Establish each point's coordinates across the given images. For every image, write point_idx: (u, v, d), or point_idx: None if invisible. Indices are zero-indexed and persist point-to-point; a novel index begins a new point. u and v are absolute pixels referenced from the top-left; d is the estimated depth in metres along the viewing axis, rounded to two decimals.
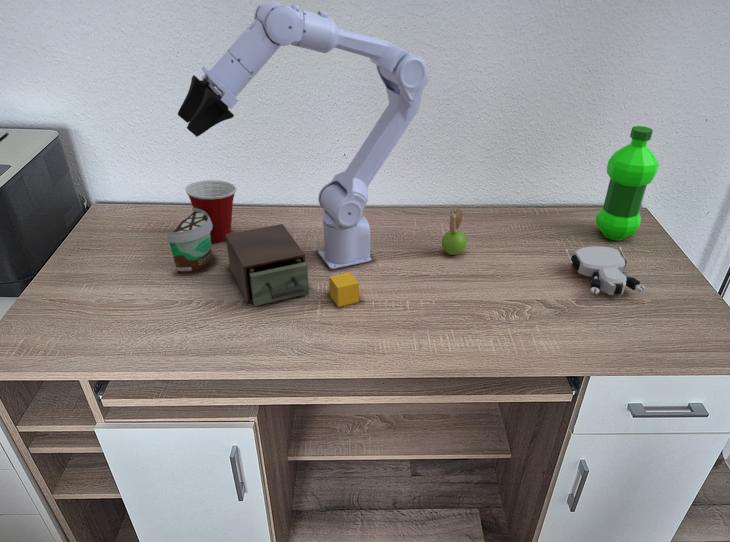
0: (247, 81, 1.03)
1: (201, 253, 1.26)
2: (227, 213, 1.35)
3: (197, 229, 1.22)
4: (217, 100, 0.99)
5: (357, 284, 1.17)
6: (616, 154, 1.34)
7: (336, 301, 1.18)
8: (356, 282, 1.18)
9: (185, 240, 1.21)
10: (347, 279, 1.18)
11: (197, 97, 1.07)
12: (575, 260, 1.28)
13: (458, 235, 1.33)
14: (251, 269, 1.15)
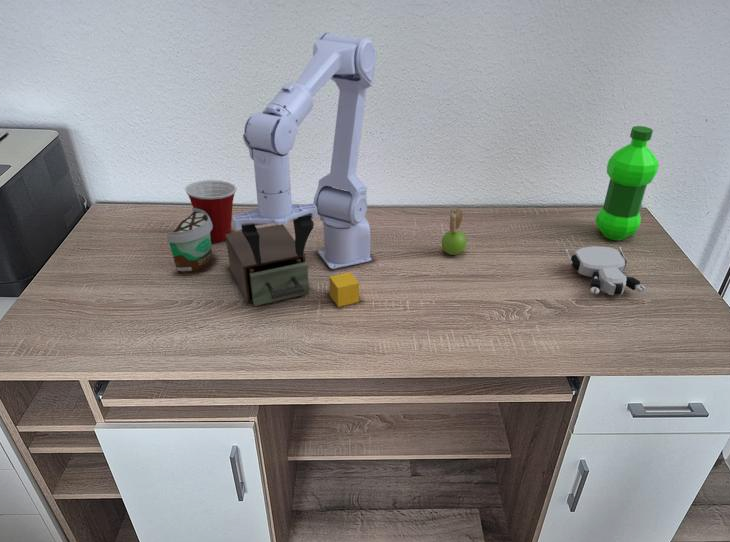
0: None
1: (201, 253, 1.26)
2: (227, 213, 1.35)
3: (197, 229, 1.22)
4: (312, 221, 1.09)
5: (357, 284, 1.17)
6: (616, 154, 1.34)
7: (336, 301, 1.18)
8: (356, 282, 1.18)
9: (185, 240, 1.21)
10: (347, 279, 1.18)
11: None
12: (575, 260, 1.28)
13: (458, 235, 1.33)
14: (251, 269, 1.15)
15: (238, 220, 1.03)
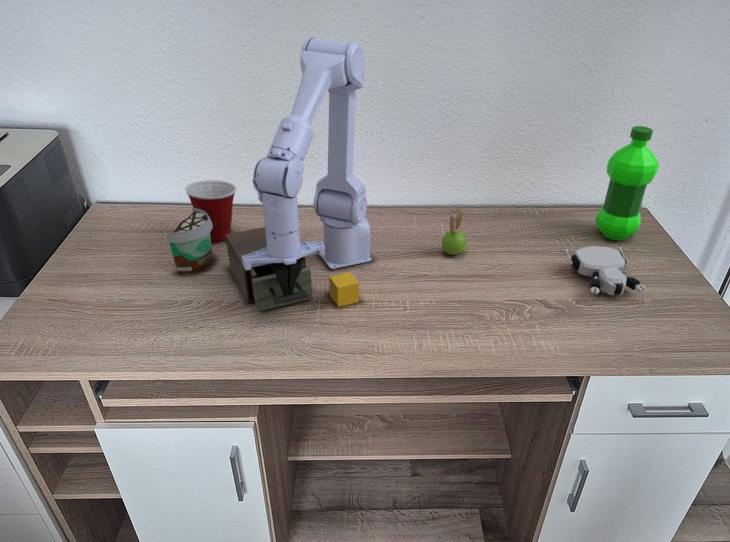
0: None
1: (201, 253, 1.26)
2: (227, 213, 1.35)
3: (197, 229, 1.22)
4: (301, 262, 1.10)
5: (357, 284, 1.17)
6: (616, 154, 1.34)
7: (336, 301, 1.18)
8: (356, 282, 1.18)
9: (185, 240, 1.21)
10: (347, 279, 1.18)
11: None
12: (575, 260, 1.28)
13: (458, 235, 1.33)
14: (254, 274, 1.14)
15: (248, 260, 1.05)
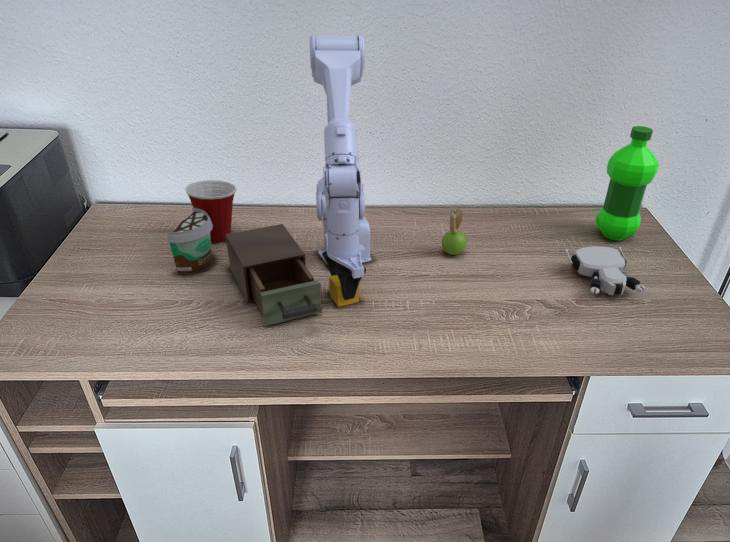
0: None
1: (201, 253, 1.26)
2: (227, 213, 1.35)
3: (197, 229, 1.22)
4: None
5: None
6: (616, 154, 1.34)
7: (336, 301, 1.18)
8: None
9: (185, 240, 1.21)
10: None
11: None
12: (575, 260, 1.28)
13: (458, 235, 1.33)
14: (262, 288, 1.10)
15: (362, 266, 1.10)
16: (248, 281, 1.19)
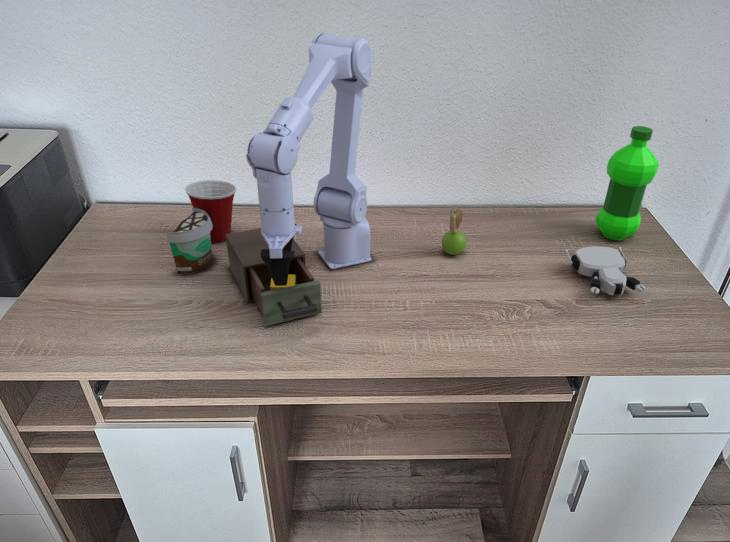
0: None
1: (201, 253, 1.26)
2: (227, 213, 1.35)
3: (197, 229, 1.22)
4: None
5: None
6: (616, 154, 1.34)
7: None
8: None
9: (185, 240, 1.21)
10: None
11: None
12: (575, 260, 1.28)
13: (458, 235, 1.33)
14: (262, 288, 1.10)
15: (281, 247, 1.03)
16: (248, 281, 1.19)
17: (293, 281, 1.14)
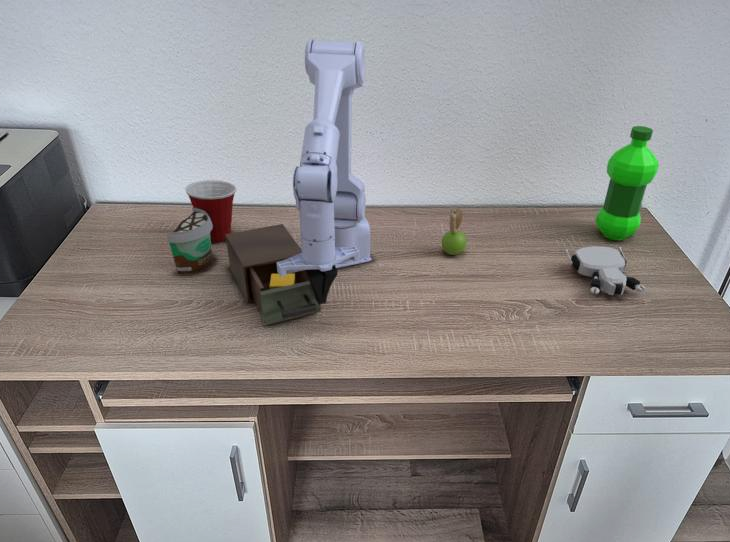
0: None
1: (201, 253, 1.26)
2: (227, 213, 1.35)
3: (197, 229, 1.22)
4: (335, 268, 1.08)
5: None
6: (616, 154, 1.34)
7: None
8: None
9: (185, 240, 1.21)
10: (286, 280, 1.14)
11: None
12: (575, 260, 1.28)
13: (458, 235, 1.33)
14: (261, 287, 1.10)
15: (283, 267, 1.04)
16: (248, 280, 1.19)
17: (292, 280, 1.14)
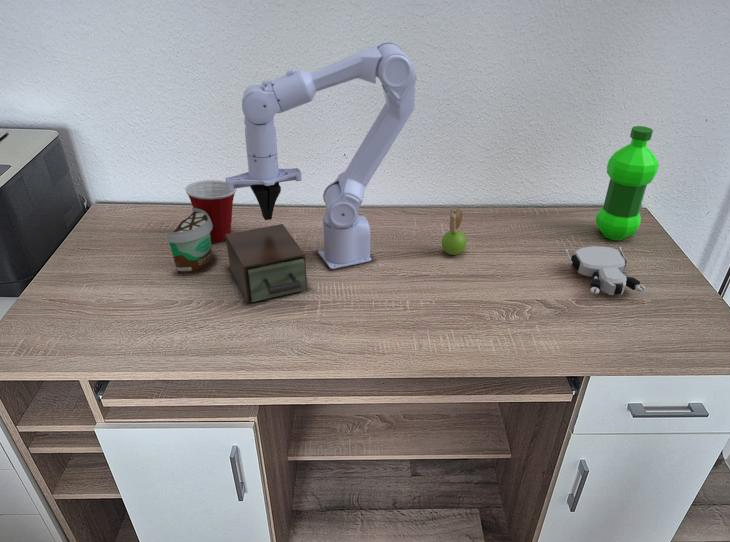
0: None
1: (201, 253, 1.26)
2: (227, 213, 1.35)
3: (197, 229, 1.22)
4: (279, 186, 1.22)
5: None
6: (616, 154, 1.34)
7: None
8: None
9: (185, 240, 1.21)
10: None
11: None
12: (575, 260, 1.28)
13: (458, 235, 1.33)
14: None
15: (231, 181, 1.17)
16: None
17: None
